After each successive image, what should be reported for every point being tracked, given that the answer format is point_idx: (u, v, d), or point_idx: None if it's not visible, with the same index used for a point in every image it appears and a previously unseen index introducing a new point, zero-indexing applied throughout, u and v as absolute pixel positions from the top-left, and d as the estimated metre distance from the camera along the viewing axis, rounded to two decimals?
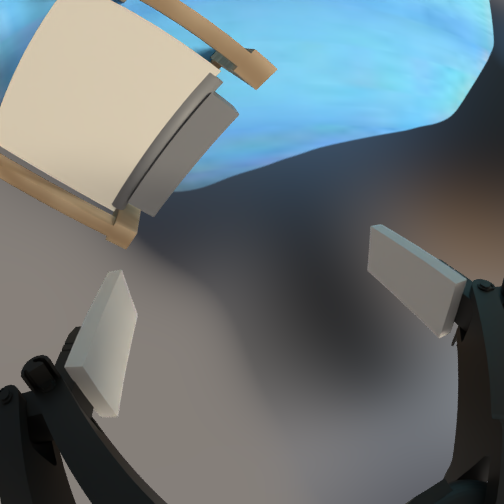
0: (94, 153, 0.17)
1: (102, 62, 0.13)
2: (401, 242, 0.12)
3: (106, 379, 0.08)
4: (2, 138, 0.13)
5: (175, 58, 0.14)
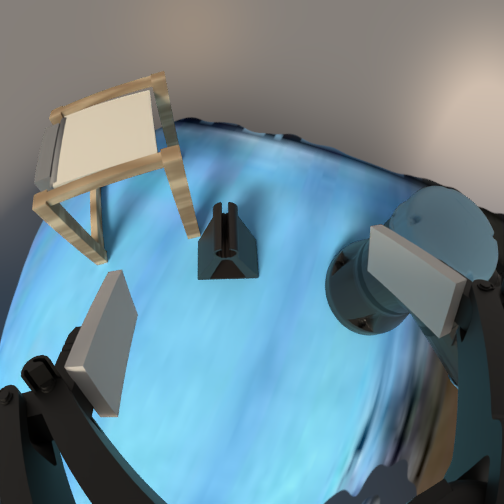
0: (84, 123, 0.30)
1: (104, 145, 0.28)
2: (401, 242, 0.12)
3: (106, 379, 0.08)
4: (140, 95, 0.32)
5: (73, 172, 0.27)
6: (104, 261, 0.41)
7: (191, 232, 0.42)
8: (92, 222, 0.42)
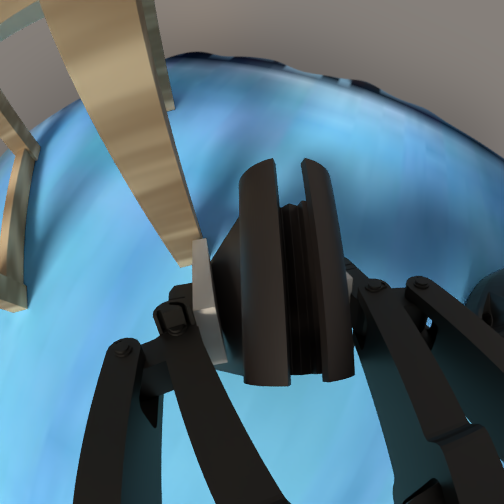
0: None
1: None
2: None
3: None
4: None
5: None
6: (20, 307, 0.17)
7: (185, 254, 0.17)
8: (3, 229, 0.17)
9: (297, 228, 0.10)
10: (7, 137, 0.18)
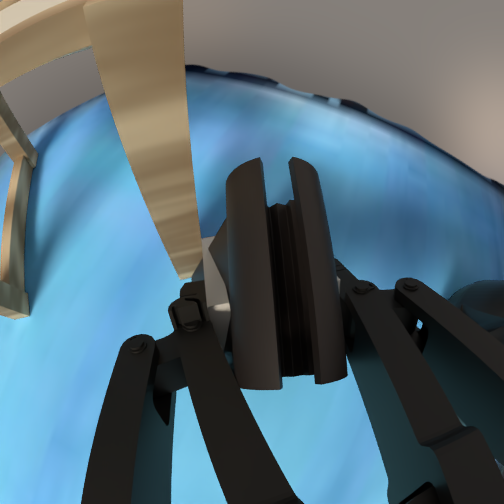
0: None
1: None
2: None
3: None
4: None
5: None
6: (23, 315, 0.17)
7: (187, 269, 0.19)
8: (4, 237, 0.17)
9: (286, 228, 0.10)
10: (6, 144, 0.18)
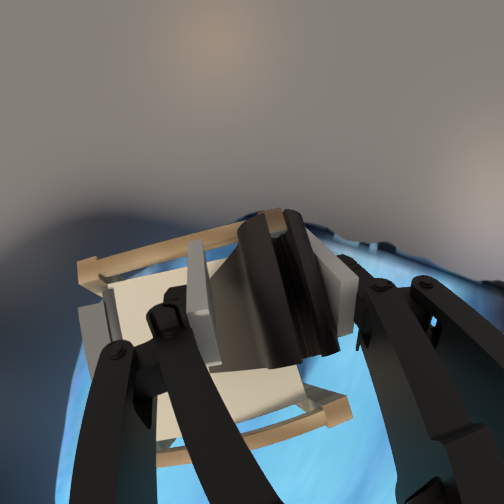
0: None
1: (216, 380, 0.20)
2: None
3: (214, 327, 0.11)
4: None
5: (177, 424, 0.18)
6: None
7: None
8: None
9: (280, 255, 0.14)
10: None
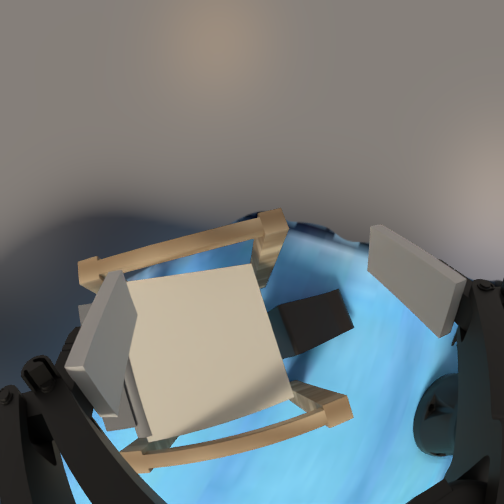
0: (160, 318, 0.22)
1: (215, 379, 0.21)
2: (401, 242, 0.12)
3: (106, 379, 0.08)
4: (240, 272, 0.26)
5: (179, 422, 0.18)
6: None
7: None
8: None
9: None
10: None
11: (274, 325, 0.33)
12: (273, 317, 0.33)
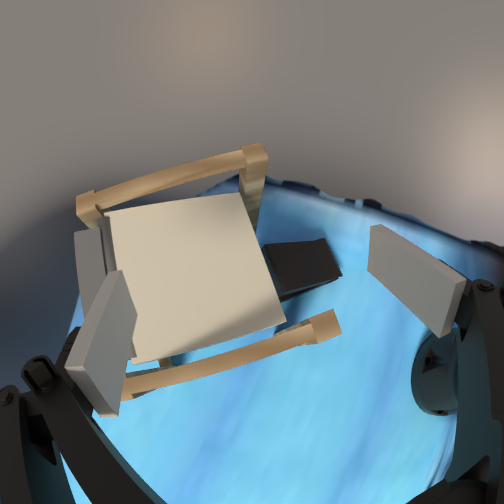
0: (149, 240, 0.23)
1: (203, 297, 0.22)
2: (401, 242, 0.12)
3: (106, 379, 0.08)
4: (228, 199, 0.27)
5: (164, 343, 0.20)
6: None
7: None
8: None
9: None
10: None
11: None
12: None
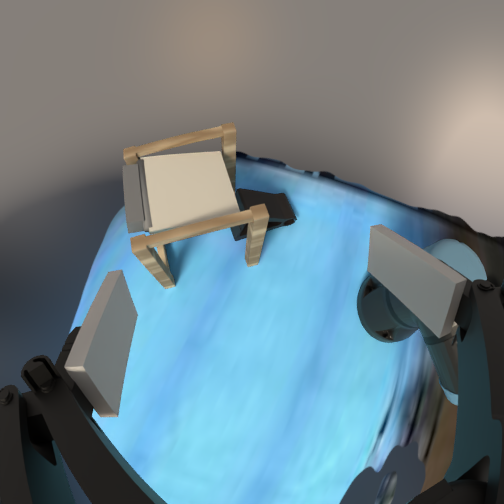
0: (166, 171, 0.40)
1: (193, 200, 0.39)
2: (401, 242, 0.12)
3: (106, 379, 0.08)
4: (213, 154, 0.44)
5: (169, 220, 0.37)
6: (173, 285, 0.51)
7: (252, 262, 0.52)
8: (159, 250, 0.51)
9: None
10: None
11: None
12: None
